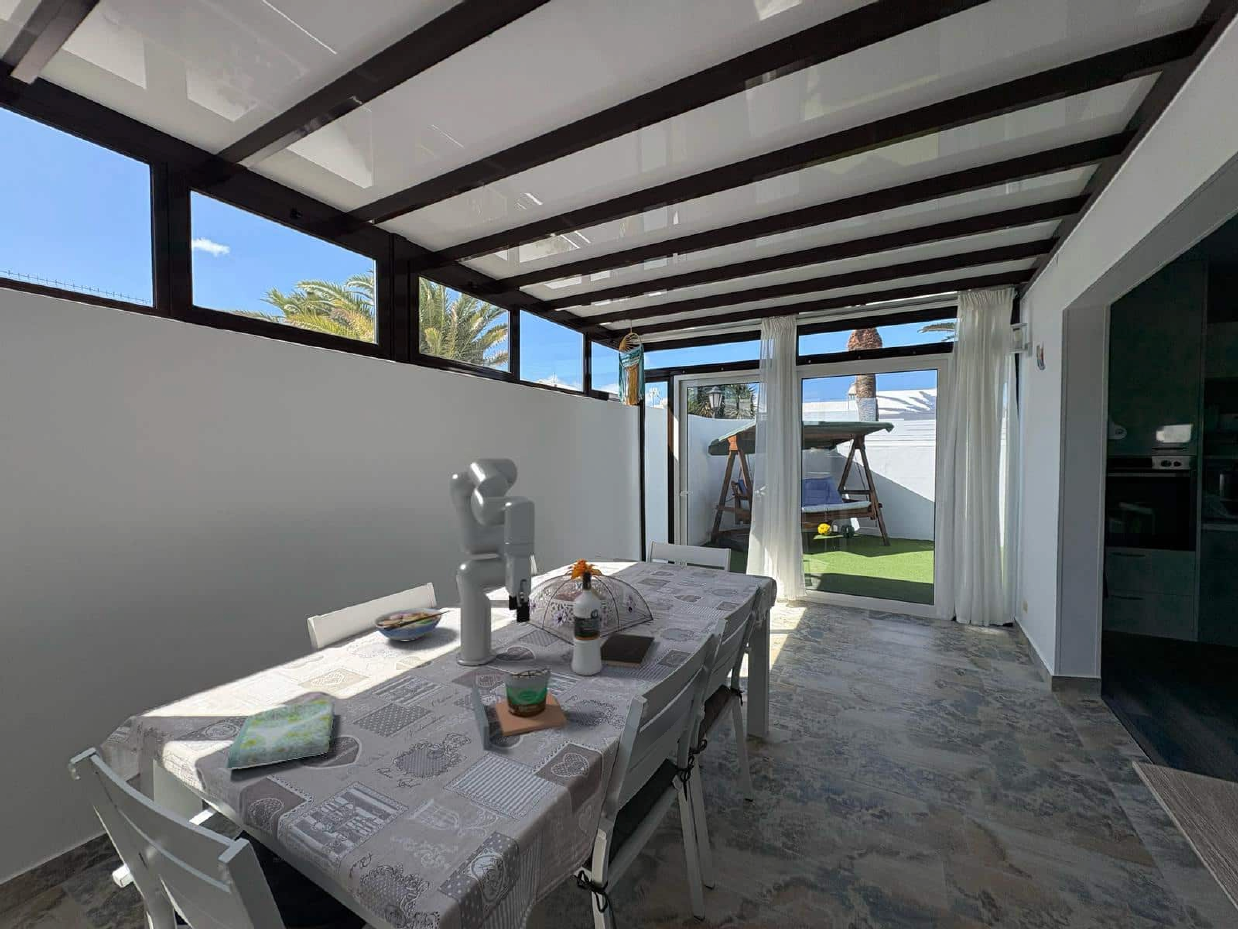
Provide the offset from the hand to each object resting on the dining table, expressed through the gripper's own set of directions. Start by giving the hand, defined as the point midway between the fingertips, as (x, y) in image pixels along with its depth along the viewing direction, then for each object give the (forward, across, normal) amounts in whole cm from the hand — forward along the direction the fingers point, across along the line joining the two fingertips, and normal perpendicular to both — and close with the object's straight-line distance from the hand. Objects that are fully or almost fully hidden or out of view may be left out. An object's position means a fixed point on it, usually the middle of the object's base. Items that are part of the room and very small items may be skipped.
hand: (518, 615), depth 129 cm
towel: (+25, -6, -51) cm, 58 cm away
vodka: (+25, -16, +24) cm, 38 cm away
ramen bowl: (+26, -66, -25) cm, 76 cm away
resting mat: (+24, +4, +2) cm, 25 cm away
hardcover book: (+26, -24, +40) cm, 54 cm away
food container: (+23, +5, +2) cm, 24 cm away
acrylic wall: (+24, +4, -10) cm, 27 cm away
